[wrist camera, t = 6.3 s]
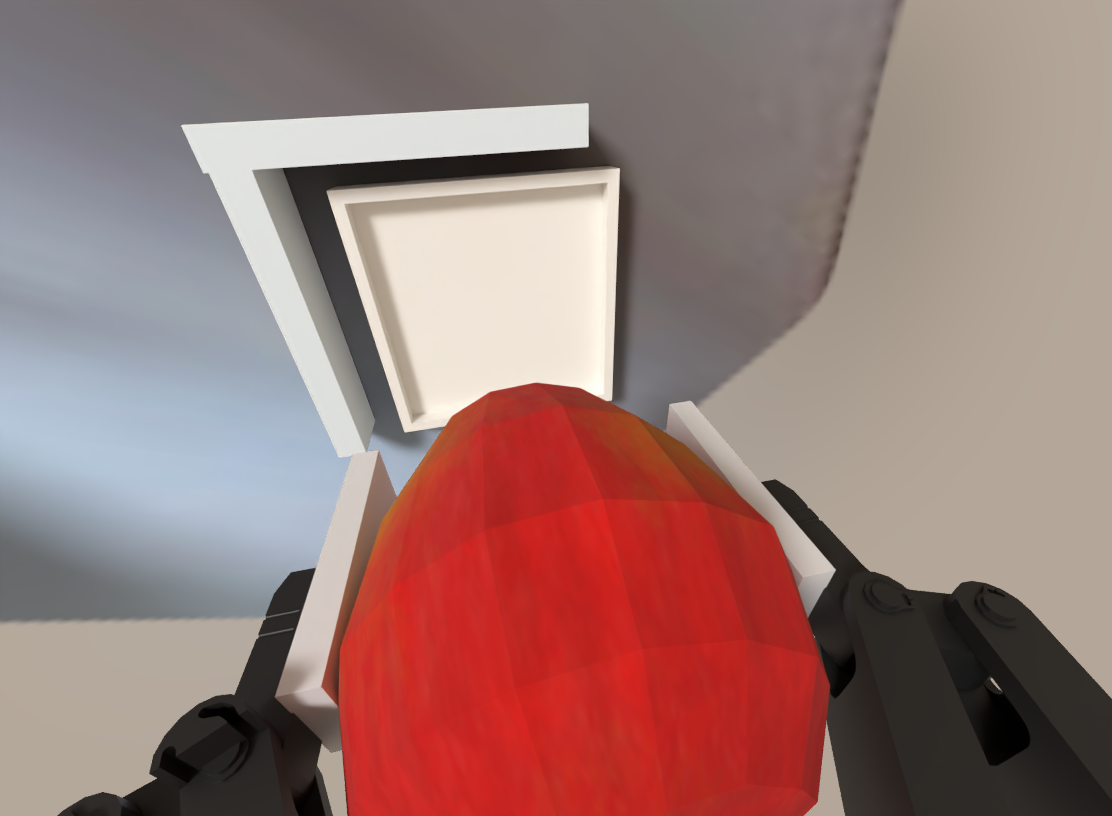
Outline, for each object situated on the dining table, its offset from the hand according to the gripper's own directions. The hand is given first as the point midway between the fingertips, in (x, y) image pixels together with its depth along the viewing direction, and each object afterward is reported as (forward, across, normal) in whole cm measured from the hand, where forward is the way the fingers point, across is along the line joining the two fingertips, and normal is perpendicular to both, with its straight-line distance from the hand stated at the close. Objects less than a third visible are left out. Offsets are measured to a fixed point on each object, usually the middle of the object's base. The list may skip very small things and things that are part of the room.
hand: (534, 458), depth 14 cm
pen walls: (+15, -3, +1) cm, 15 cm away
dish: (+15, 0, 0) cm, 15 cm away
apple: (+1, 0, 0) cm, 1 cm away
